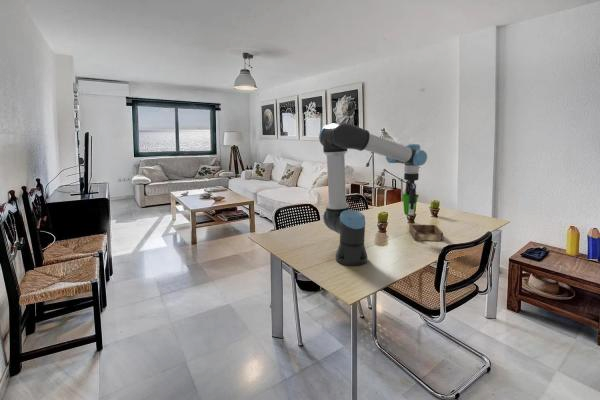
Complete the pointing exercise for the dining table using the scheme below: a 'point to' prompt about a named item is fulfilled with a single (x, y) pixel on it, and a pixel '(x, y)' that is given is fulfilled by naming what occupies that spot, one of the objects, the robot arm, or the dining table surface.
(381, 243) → the dining table surface
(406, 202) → the cup
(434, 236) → the wooden tray
